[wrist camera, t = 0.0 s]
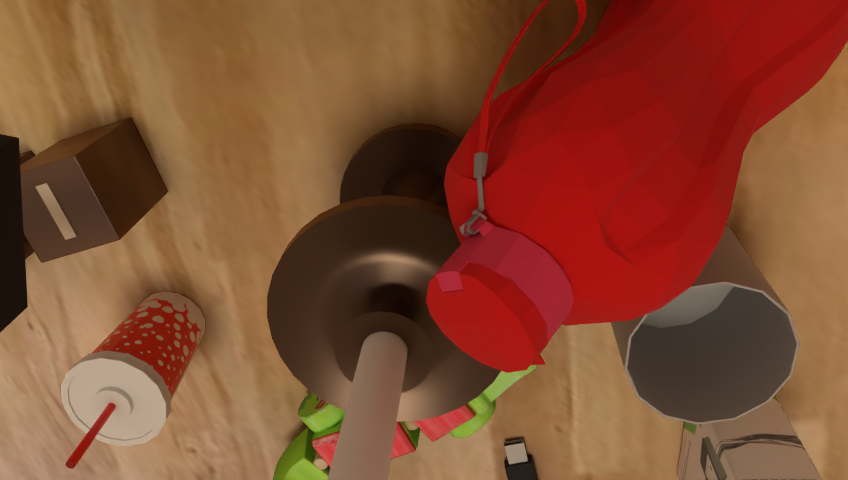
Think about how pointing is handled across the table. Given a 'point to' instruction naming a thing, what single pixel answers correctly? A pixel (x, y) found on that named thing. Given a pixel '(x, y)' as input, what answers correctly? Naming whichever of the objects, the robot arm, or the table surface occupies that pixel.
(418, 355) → the candlestick
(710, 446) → the ink box
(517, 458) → the usb flash drive
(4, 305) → the robot arm
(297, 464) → the toy crocodile
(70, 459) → the beverage cup
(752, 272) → the cup
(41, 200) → the tile
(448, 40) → the table surface
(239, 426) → the table surface
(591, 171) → the water bottle
